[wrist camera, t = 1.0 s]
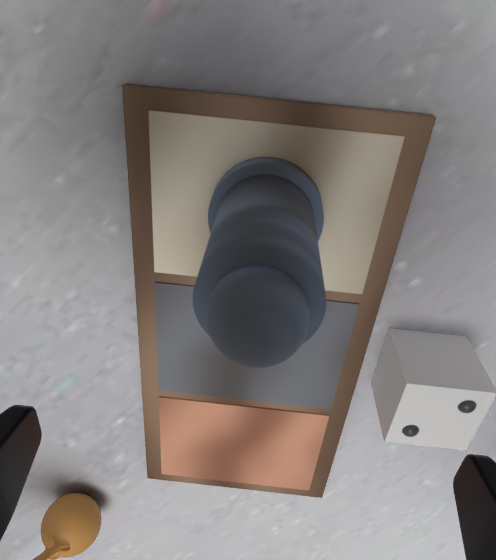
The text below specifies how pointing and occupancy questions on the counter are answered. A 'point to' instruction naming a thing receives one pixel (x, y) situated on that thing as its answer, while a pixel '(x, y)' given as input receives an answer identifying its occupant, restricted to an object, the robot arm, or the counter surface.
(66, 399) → the counter surface
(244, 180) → the pawn
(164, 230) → the game board
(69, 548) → the figurine
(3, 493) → the robot arm
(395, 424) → the white die
